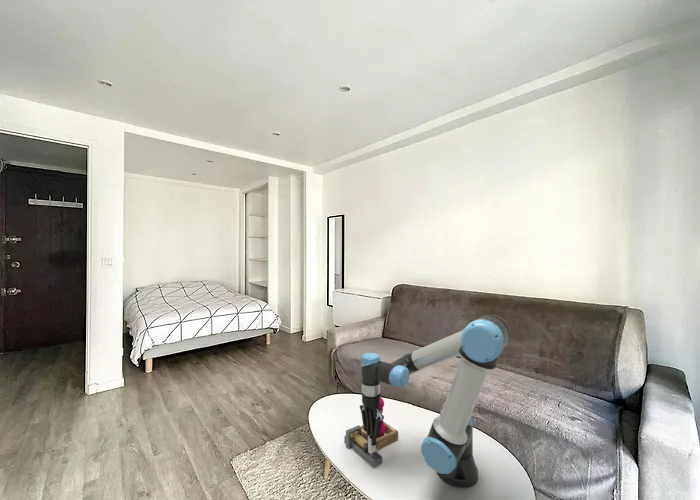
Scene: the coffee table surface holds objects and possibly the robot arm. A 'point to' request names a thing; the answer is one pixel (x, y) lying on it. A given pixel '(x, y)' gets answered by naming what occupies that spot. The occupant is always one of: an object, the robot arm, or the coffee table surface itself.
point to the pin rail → (372, 459)
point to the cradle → (383, 437)
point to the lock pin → (359, 441)
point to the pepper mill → (381, 415)
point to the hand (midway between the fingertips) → (372, 451)
